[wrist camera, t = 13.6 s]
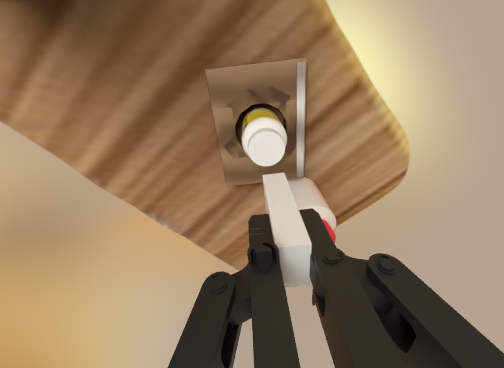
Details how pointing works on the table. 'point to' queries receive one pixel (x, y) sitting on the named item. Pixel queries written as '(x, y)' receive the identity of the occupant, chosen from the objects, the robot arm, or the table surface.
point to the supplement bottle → (263, 136)
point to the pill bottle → (313, 201)
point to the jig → (258, 92)
